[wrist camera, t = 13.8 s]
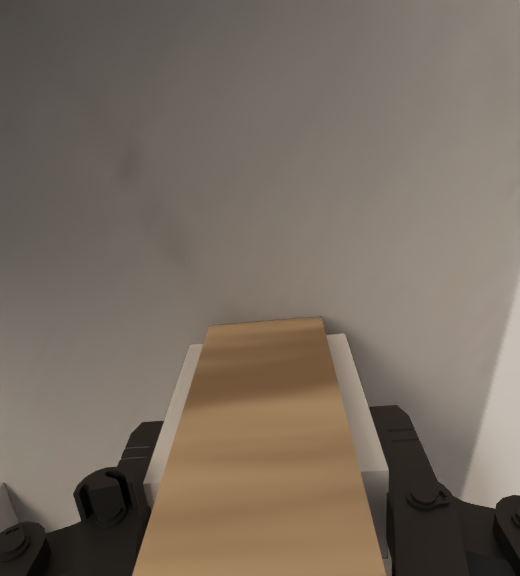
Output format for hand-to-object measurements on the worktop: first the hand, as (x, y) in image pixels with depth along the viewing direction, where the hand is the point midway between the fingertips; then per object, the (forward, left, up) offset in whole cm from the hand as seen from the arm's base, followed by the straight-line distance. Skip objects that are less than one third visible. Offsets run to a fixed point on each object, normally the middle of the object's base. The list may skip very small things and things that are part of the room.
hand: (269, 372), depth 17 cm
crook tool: (+9, -3, 0) cm, 10 cm away
